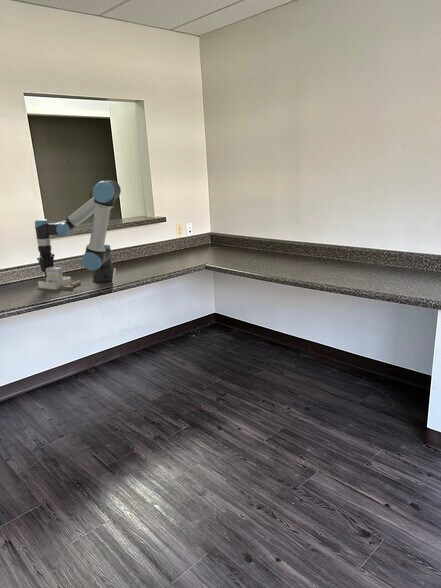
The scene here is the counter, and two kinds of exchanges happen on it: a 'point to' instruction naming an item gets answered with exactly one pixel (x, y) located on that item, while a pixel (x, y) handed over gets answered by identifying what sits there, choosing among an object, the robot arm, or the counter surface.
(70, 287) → the scraper
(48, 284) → the frame
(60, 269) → the ink box
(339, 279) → the counter surface
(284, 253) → the counter surface
